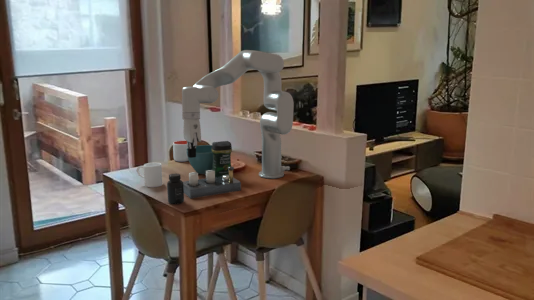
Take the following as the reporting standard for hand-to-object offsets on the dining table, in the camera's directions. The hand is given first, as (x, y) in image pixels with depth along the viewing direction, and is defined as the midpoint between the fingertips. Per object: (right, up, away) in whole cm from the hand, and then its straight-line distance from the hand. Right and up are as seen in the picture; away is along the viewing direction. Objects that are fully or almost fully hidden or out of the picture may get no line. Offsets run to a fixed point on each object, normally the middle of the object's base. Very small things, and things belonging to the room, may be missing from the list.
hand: (191, 157), depth 229 cm
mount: (+7, -15, +8) cm, 19 cm away
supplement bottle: (-6, -19, -8) cm, 21 cm away
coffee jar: (+11, -11, +26) cm, 31 cm away
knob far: (0, -12, +3) cm, 13 cm away
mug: (-22, -13, +17) cm, 31 cm away
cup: (-14, -3, +62) cm, 63 cm away
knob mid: (+7, -11, +7) cm, 15 cm away
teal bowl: (+1, -8, +38) cm, 39 cm away
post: (+17, -11, +7) cm, 21 cm away
